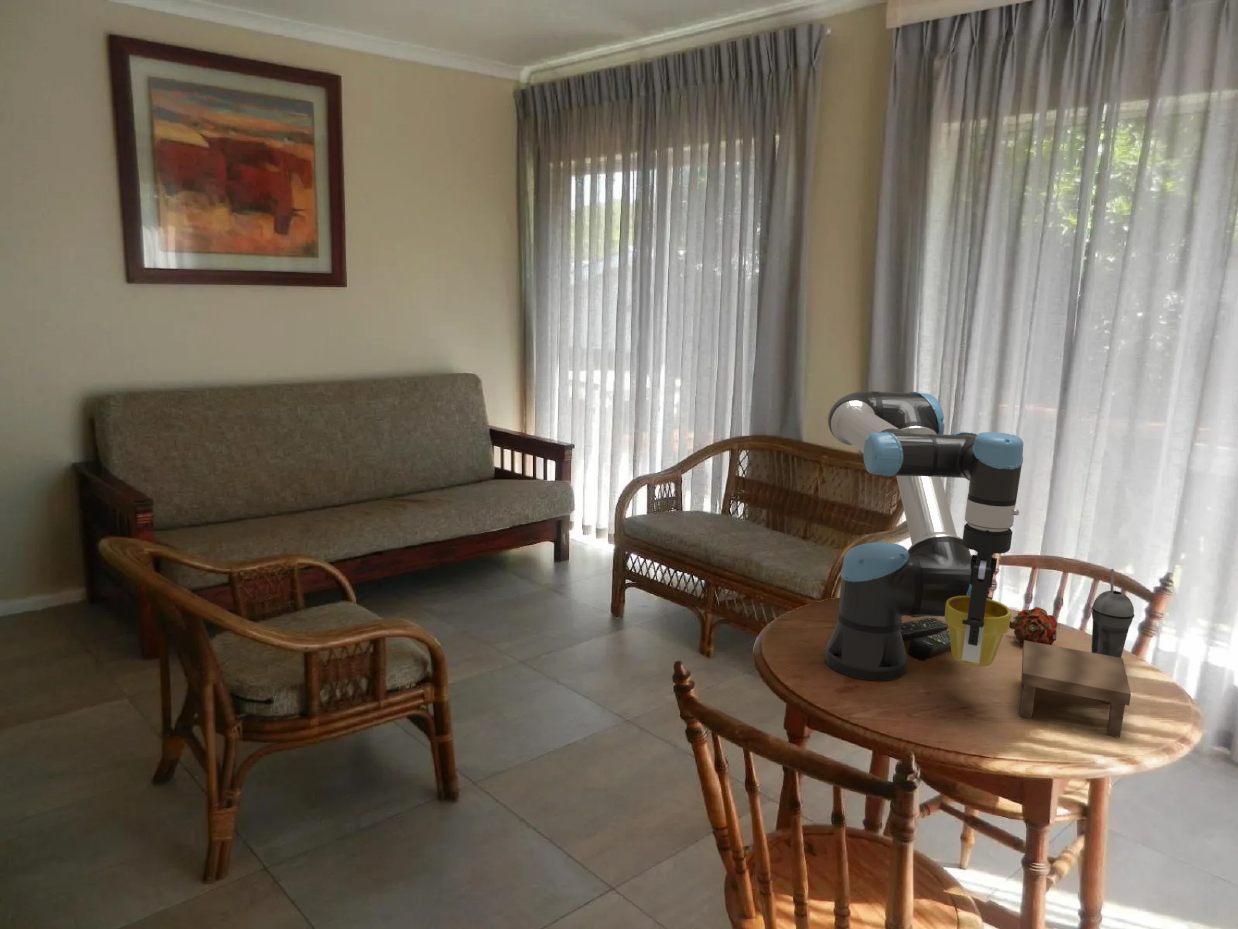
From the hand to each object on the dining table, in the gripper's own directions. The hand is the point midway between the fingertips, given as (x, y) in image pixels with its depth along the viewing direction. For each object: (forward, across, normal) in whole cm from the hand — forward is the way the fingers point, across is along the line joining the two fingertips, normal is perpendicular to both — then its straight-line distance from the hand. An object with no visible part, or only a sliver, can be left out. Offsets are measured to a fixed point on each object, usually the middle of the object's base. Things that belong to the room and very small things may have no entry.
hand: (972, 649), depth 151 cm
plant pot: (+2, 0, 0) cm, 2 cm away
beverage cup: (+11, +31, -23) cm, 40 cm away
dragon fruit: (+11, +37, -10) cm, 40 cm away
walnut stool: (+11, +8, -16) cm, 21 cm away
